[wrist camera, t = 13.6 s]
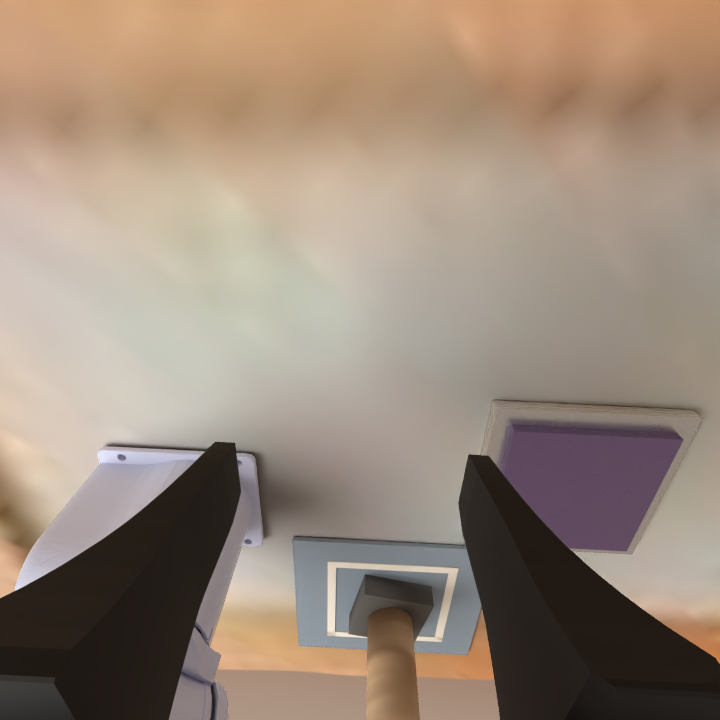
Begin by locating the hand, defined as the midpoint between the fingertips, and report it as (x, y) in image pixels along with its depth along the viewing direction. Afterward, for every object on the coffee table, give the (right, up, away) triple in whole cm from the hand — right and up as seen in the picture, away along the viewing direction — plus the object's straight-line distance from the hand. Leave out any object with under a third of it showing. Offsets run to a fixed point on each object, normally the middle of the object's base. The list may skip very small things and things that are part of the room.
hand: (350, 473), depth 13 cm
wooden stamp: (+2, -15, +19) cm, 24 cm away
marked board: (+2, -15, +19) cm, 24 cm away
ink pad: (+13, -4, +13) cm, 19 cm away
